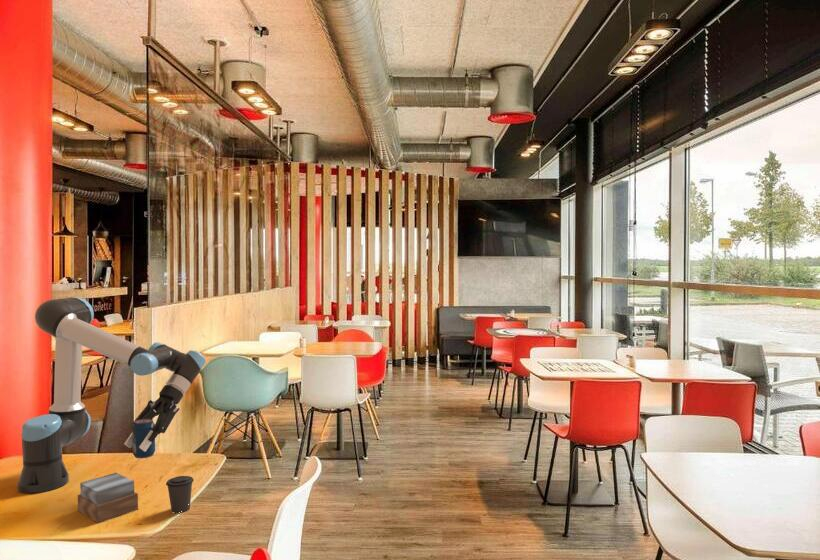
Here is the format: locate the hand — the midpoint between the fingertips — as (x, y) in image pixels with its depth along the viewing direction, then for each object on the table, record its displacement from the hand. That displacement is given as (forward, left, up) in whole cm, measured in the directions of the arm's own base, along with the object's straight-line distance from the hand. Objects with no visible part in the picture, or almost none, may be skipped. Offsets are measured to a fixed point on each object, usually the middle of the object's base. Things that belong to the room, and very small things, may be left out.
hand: (134, 447), depth 196 cm
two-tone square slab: (+6, -12, -16) cm, 20 cm away
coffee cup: (+24, +2, -16) cm, 29 cm away
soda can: (-1, +3, -4) cm, 5 cm away
